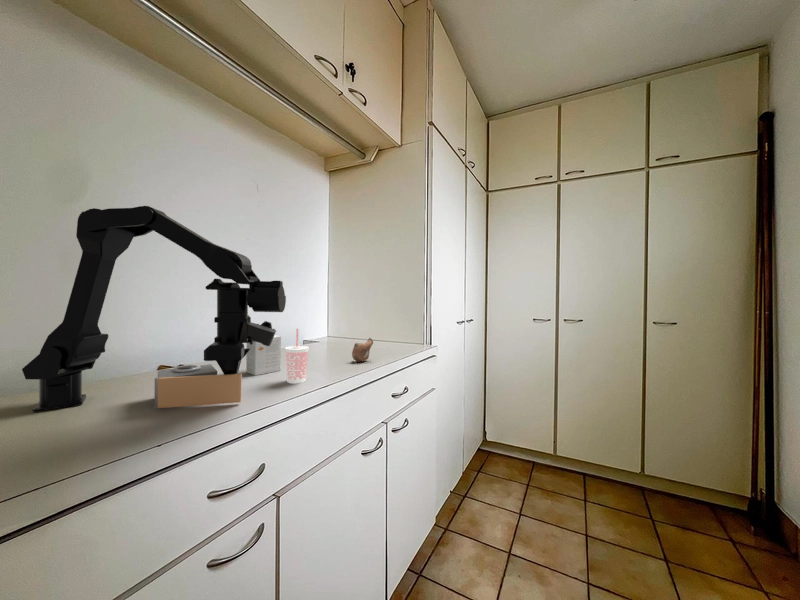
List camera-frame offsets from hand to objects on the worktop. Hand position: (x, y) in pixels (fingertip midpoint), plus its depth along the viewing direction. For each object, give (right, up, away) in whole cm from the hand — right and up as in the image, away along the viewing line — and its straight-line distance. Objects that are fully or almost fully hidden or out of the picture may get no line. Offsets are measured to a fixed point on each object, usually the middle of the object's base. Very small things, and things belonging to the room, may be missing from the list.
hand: (232, 384), depth 65 cm
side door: (-5, -3, -3) cm, 7 cm away
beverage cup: (+8, -4, +16) cm, 19 cm away
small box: (-5, -3, +25) cm, 26 cm away
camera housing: (-11, -3, +2) cm, 11 cm away
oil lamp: (+23, -4, +42) cm, 48 cm away
